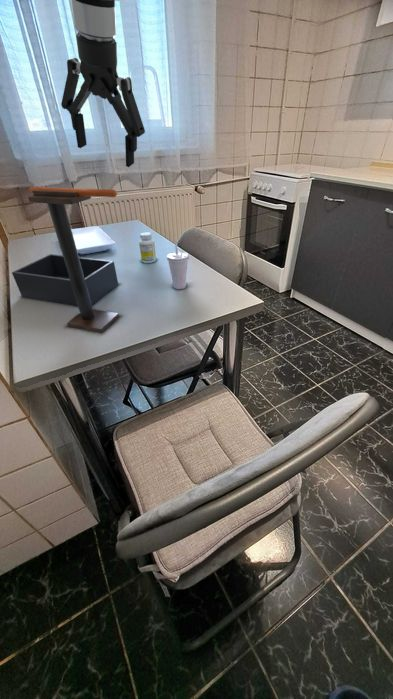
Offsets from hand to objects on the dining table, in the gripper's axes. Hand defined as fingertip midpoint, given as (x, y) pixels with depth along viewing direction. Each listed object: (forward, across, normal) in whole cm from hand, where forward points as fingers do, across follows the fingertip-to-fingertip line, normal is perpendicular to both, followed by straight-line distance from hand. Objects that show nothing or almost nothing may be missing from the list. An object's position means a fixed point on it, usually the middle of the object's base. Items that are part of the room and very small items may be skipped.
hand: (106, 155), depth 74 cm
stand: (+24, -14, +31) cm, 42 cm away
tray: (+49, +24, -18) cm, 57 cm away
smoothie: (+27, -27, +6) cm, 38 cm away
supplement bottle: (+36, -8, -10) cm, 39 cm away
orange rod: (-4, -8, +24) cm, 26 cm away
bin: (+32, +3, +20) cm, 38 cm away
